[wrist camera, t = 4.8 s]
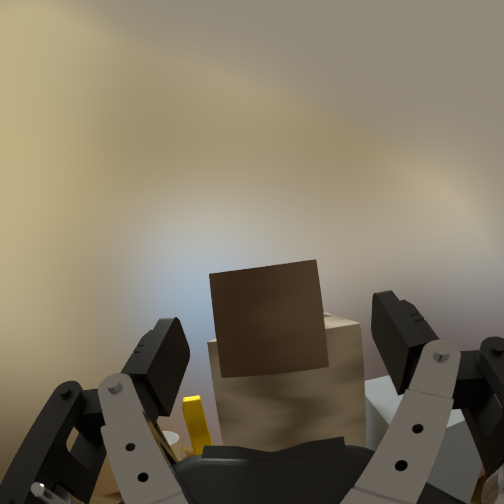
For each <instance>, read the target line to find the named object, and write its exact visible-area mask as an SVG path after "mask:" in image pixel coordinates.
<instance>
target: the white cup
mask: <svg viewBox="0 0 504 504" xmlns="http://www.w3.org/2000/svg"><path fill="white" fill-rule="evenodd" d="M162 432H163V434H164V436H165V438H166V439H167V441H168V443H169V445H170V447H171V449H172V450H173V452H174V454H175V456H176V457H177V459H178V460H179V461H182V460H183V457H182V452H181V447H180V441H179V436H178V435H177V434H175V433H173V432H169V431H162Z"/></svg>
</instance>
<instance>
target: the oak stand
mask: <svg viewBox="0 0 504 504" xmlns="http://www.w3.org/2000/svg"><path fill="white" fill-rule="evenodd" d="M323 314H324V322H325V331H326V341H327V350H328V361H329V367H326V368H319V369H313V370H306V371H298V372H290V373H281V374H271V375H261V376H248V377H233V378H221V371H220V364H219V356H218V349H217V341H216V338H215V339H213V340H211V341H209V342H207V344H208V351H209V359H210V366H211V373H212V380H213V386H214V393H215V400H216V406H217V412H218V418H219V424H220V429H221V435H222V441H223V446H239V447H244V448H250V449H255V450H261V451H267V452H275V451H279V450H282V449H286V448H289V447H293V446H296V445H299V444H302V443H305V442H308V441H315V440H322V439H329V438H335V437H341V436H344V441H345V445H354V446H361V447H365V448H366V405H365V380H364V364H363V351H362V339H361V329H360V323H358V322H355V321H351V320H348V319H345V318H342V317H339V316H335V315H332V314H329V313H323Z"/></svg>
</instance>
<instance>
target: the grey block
mask: <svg viewBox="0 0 504 504" xmlns="http://www.w3.org/2000/svg"><path fill="white" fill-rule="evenodd" d="M403 395H404V394H403ZM403 395H399V396H398V395H397V392H396V390H395V387H394V385H393V383H392V380H391V378H390V375H389V376H385V377H380V378H376V379H372V380H367V381H365V405H366V448H369V449H371V450H374V451H376V450H377V448H378V446H379V444H380V442H381V441H382V439H383V437H384V435H385V433H386V431H387V429H388V427H389V425H390V423H391V421H392V419H393V417H394V415H395V413H396V411H397V409H398V406H399V404H400V402H401V400H402V398H403ZM481 466H482V461H481V458H480V456H479V453H478V450H477V448H476V445H475V443H474V440H473V438H472V435H471V433H470V430H469V428H468V425H467V423H466V421H465V419H464V416H463V414H462V412H461V410H460V409H455V410H451V414H450V417H449V421H448V424H447V427H446V431H445V434H444V437H443V440H442V443H441V446H440V448H439V451H438V454H437V457H436V459H435V462H434V464H433V467H432V469H431V472H430V474H429V476H428V479H427V481H426V482H428V483H430V484H431V485H433V486H435V487H437V488H439V489H440V490H442V491H444V492H446V493H448V494H450V495H451V496H453V497H455V498H457V499H459V500H461V501H463V502H465V503H467V504H469V503H470V501H471V498H472V495H473V492H474V489H475V486H476V483H477V480H478V477H479V474H480V470H481Z"/></svg>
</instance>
